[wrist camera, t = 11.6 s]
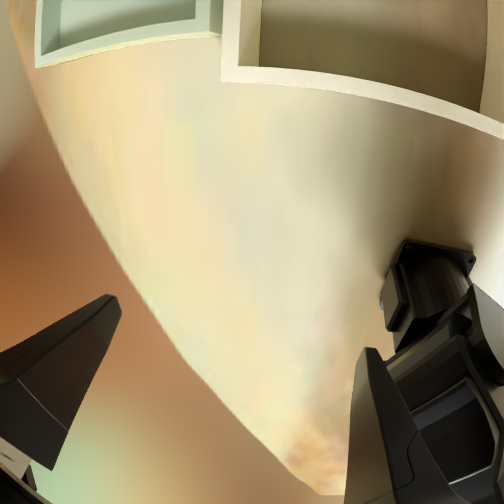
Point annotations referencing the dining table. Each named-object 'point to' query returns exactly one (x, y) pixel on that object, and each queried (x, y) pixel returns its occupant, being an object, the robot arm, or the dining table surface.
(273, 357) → the dining table surface
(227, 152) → the dining table surface
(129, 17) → the tray
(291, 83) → the cream square bin
